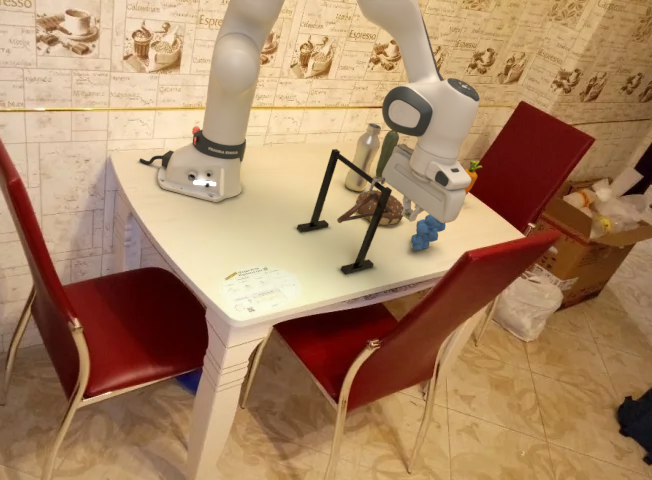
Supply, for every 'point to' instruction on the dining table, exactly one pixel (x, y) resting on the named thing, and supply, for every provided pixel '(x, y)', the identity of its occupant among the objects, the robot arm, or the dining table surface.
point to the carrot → (472, 174)
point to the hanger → (373, 195)
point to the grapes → (426, 232)
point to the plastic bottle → (364, 157)
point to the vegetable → (386, 151)
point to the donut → (385, 218)
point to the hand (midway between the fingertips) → (407, 217)
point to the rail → (386, 191)
